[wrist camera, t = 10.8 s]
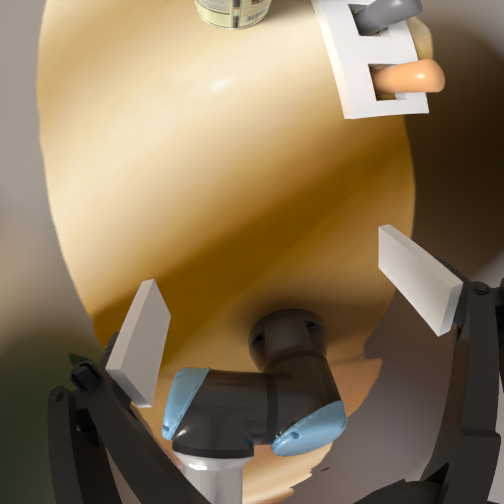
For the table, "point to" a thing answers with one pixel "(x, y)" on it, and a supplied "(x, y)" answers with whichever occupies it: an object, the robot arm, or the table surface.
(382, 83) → the jaw pin orange
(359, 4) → the housing
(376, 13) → the ball
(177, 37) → the table surface
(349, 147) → the table surface
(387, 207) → the table surface
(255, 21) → the coffee can
